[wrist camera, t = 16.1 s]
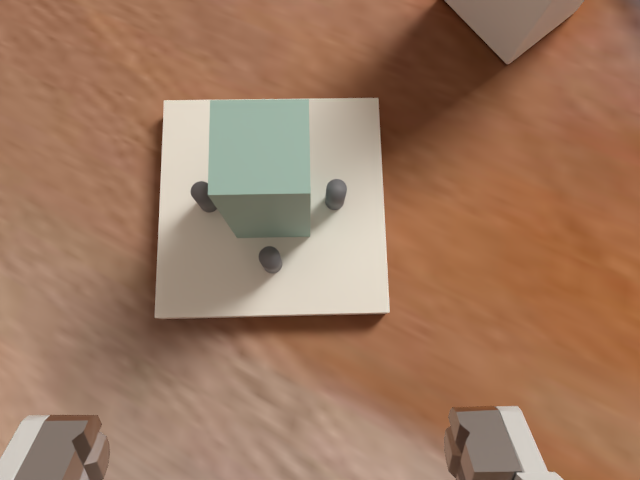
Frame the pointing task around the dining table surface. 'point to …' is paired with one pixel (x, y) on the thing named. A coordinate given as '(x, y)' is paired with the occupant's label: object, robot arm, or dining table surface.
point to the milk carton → (513, 21)
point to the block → (261, 166)
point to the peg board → (275, 252)
